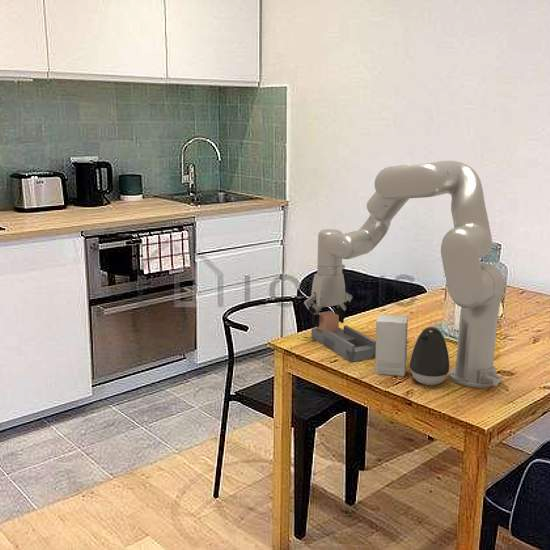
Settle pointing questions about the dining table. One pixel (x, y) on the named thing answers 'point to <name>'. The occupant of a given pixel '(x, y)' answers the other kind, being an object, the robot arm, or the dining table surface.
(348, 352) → the trough
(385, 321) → the skincare box
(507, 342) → the dining table surface
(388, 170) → the robot arm
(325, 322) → the block
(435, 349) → the egg-shaped speaker
